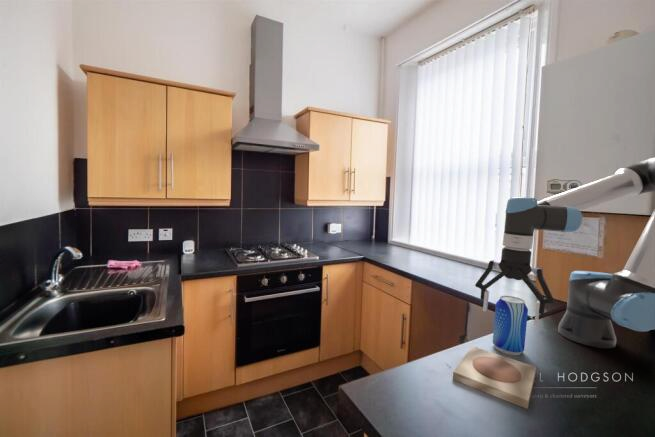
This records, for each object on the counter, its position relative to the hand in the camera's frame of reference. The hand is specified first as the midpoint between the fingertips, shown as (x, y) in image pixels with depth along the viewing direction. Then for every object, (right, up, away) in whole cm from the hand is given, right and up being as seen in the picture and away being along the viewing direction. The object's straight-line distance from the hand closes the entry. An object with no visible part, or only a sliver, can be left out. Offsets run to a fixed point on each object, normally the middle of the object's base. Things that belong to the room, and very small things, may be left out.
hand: (509, 316), depth 93 cm
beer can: (0, -11, +1) cm, 11 cm away
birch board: (-12, -11, -14) cm, 21 cm away
